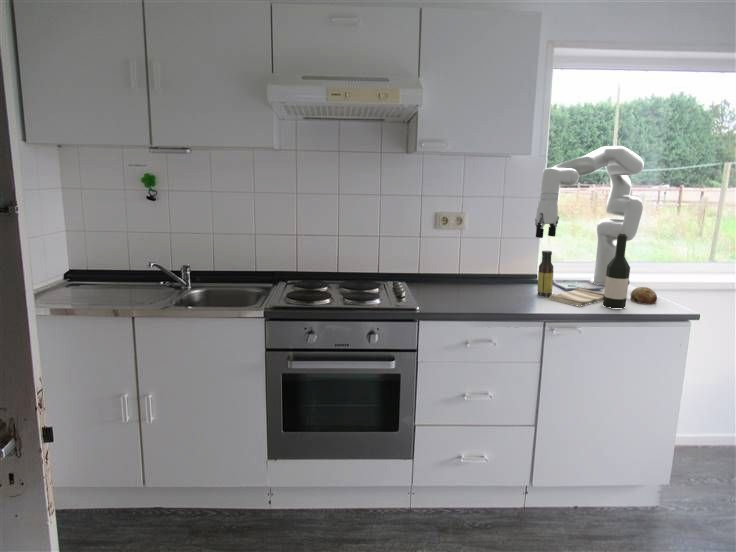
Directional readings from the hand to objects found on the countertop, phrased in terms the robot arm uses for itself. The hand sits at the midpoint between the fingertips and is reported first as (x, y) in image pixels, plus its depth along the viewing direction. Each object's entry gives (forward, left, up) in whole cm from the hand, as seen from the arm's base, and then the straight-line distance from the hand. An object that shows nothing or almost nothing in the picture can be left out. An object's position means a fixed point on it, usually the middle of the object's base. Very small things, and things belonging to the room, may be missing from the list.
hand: (545, 236), depth 221 cm
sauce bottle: (+2, +4, -26) cm, 26 cm away
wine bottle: (-7, +30, -26) cm, 40 cm away
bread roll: (-26, +33, -26) cm, 49 cm away
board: (-6, +16, -25) cm, 30 cm away
